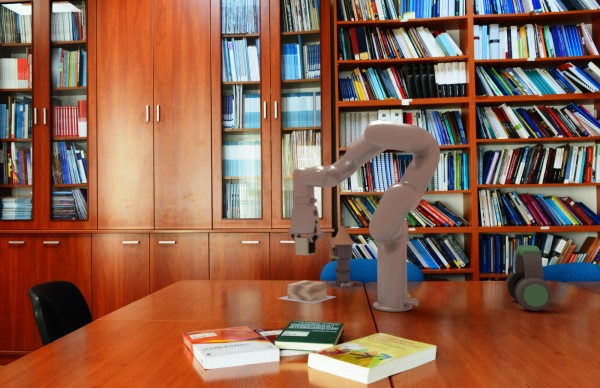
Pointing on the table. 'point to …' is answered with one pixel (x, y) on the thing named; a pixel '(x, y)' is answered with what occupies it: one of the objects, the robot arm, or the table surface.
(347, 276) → the model tower
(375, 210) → the robot arm
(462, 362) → the table surface
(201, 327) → the table surface
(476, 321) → the table surface
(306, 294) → the block
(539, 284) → the headphones
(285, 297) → the board
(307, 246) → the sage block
